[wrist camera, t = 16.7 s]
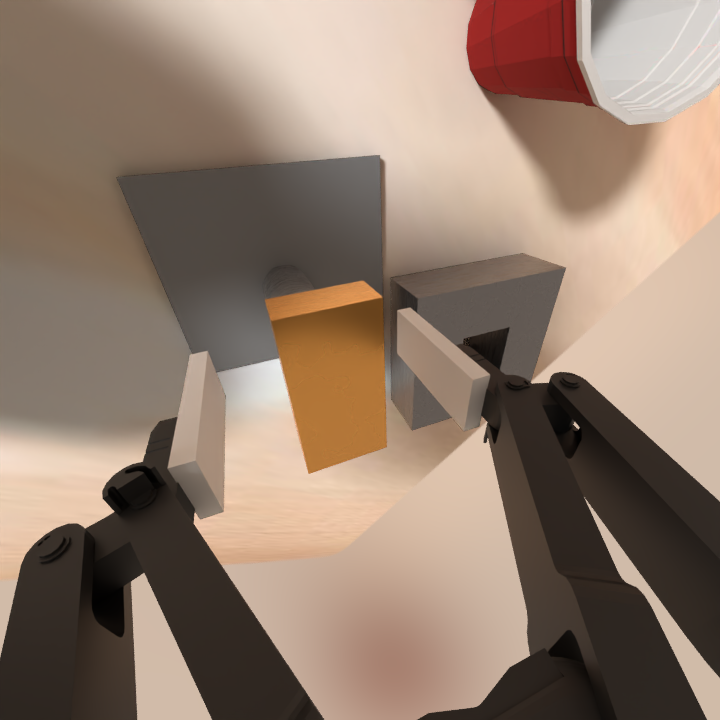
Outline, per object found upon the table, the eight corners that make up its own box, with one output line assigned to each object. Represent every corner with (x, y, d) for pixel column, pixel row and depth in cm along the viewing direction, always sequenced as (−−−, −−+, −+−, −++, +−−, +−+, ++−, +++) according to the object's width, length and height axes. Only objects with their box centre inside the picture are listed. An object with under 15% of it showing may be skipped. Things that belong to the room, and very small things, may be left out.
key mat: (202, 371, 26) (201, 375, 26) (119, 176, 18) (116, 177, 18) (381, 330, 30) (383, 333, 29) (376, 155, 22) (379, 155, 22)
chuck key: (245, 237, 21) (271, 320, 10) (303, 229, 22) (383, 297, 11) (271, 338, 26) (308, 473, 15) (318, 328, 27) (386, 447, 16)
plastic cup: (415, -73, 17) (651, -363, 7) (580, -118, 18) (964, -417, 9) (437, 157, 23) (579, 158, 14) (558, 112, 25) (763, 85, 15)
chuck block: (391, 399, 35) (412, 430, 31) (390, 277, 27) (417, 298, 23) (496, 369, 39) (526, 393, 35) (522, 253, 31) (565, 267, 27)
